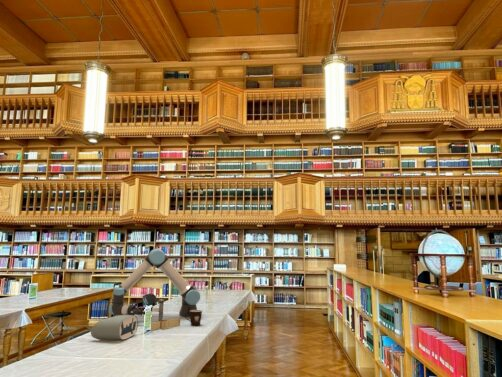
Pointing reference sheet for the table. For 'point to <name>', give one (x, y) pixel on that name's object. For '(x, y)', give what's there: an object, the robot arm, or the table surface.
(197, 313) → the coffee mug
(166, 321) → the hinge leaf
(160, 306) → the hinge pin
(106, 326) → the pencil case
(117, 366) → the table surface
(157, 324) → the hinge leaf
